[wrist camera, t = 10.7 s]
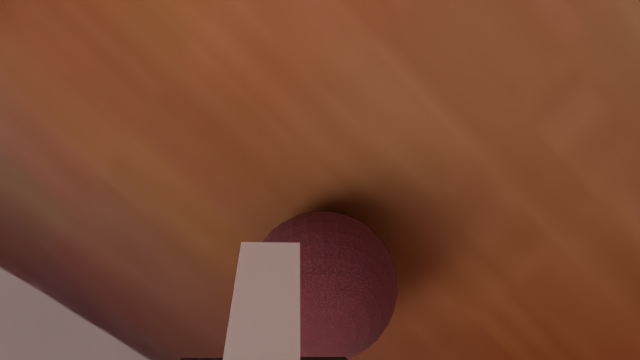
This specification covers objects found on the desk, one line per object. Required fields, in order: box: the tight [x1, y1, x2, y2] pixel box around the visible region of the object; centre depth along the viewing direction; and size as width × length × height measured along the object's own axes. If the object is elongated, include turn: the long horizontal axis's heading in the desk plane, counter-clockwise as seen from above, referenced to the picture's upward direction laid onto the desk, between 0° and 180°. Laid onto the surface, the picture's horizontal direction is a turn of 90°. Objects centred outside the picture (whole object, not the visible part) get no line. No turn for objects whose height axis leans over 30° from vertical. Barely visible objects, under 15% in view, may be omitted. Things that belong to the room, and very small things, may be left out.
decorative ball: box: [263, 211, 397, 359], centre depth 40 cm, size 10×10×10 cm
